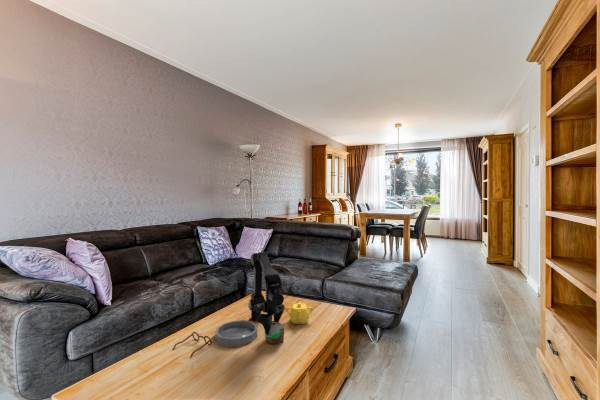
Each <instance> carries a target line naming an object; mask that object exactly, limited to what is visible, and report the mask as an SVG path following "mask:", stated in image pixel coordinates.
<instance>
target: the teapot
mask: <svg viewBox="0 0 600 400" xmlns="http://www.w3.org/2000/svg"><path fill="white" fill-rule="evenodd" d="M289 309H290V310H289ZM309 309H310V311H309ZM285 311H286V313H287V314H288V315H289V319H290V321H291V324H292V325H293V324H295V325H305V324H307V323H308V321H309V317H310V315H311V314H312V313H313V312H314V307H313V306H307V305H306V304H305V303H302V302H300V301H299V302H298V303H293V305H292V306H285Z"/></svg>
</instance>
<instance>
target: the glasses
mask: <svg viewBox="0 0 600 400" xmlns="http://www.w3.org/2000/svg"><path fill="white" fill-rule="evenodd" d="M195 334H196V336H197V338H196V337H195ZM191 337H192V338H193V340H194V339H195V340H194V341H196V340H197V341H196V342H199V341H200V338H202V339H203V341H204V342H205V343H204V344H203V345H201V346H200V347H198V348H196V349H194V350H193V351H192V353H191V354H190V356H189V358H190V359H192V357H193V356H194V354H195V353H196V352H198V351H199V350H201V349H203V348H204V347H205V346H206V345H207V344H208V346H211V345H212V339H211V337H209V336H207V335H205V336H202V335H200V334H199V333H198V332H196V331H192V333H191V334H190V335H189V336H187V337H186V338H185V339H183V340H182V341H178V342H176V343H175V344H174V346H173V347H172V349H171V351H172V350H173V351H174V350H175V349H176V347H177V346H178V345H179V344H182V343H184V342H186V341H187V340H188V339H190V338H191ZM206 338H207V339H208V341H207V340H206Z"/></svg>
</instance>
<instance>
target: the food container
mask: <svg viewBox="0 0 600 400" xmlns="http://www.w3.org/2000/svg"><path fill="white" fill-rule="evenodd" d="M286 327H287V325H286V322H283V323H282V322H279V323H278V322H276V321H274V320H272V325H271V328H270V332H269V334H268V335H266V332H265V331H264V339H265V344H267V345H270V346H277V345H281V344H284V337H285V328H286Z"/></svg>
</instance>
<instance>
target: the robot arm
mask: <svg viewBox="0 0 600 400" xmlns="http://www.w3.org/2000/svg"><path fill="white" fill-rule="evenodd" d="M250 261H251V264H252V266H253V290H252V291H253V292H252V293H251V294H250V299H249V301H248V304H247V305H248V310H249V311H250V312H251V313H250V314H251V315H250V317H249V318H248V321H249V320H250V321H253V322H254V321H255V322H257V323H258V324H260V325H262V327H263V330H264V333H265V332H266V335H268V334H269V332H270V328H271V325H272V321H276V322H278V323H280V320H281V318H282V315H283V314H284V312H285V311H286V305H284V301H285V298H284V295H283V294H282V293H281V290H282V289H283V282H282V278H281V276H280V274H279V273H278V271H277V270H276V269H274V268H273V266H272V263H271V261H270V259H269V257H268V252H266V251H261V252H253V253H252V254H251V255H250ZM262 283H263V284H262ZM263 286H264V288H265V297H264V294H263V293H262V292H263V291H262V290H263Z"/></svg>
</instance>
